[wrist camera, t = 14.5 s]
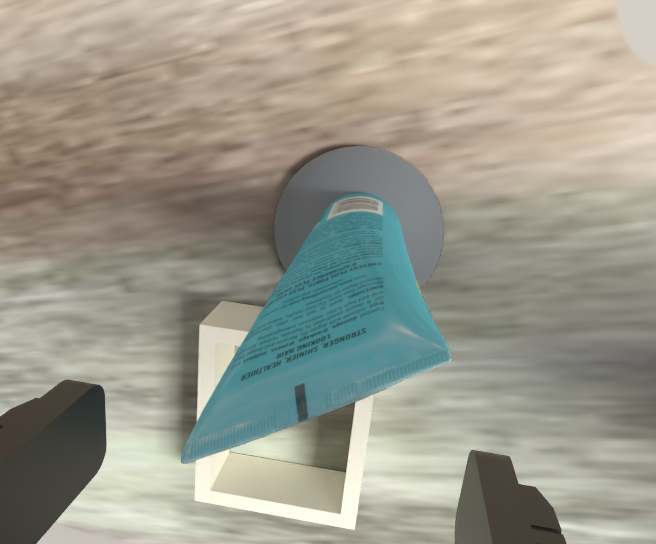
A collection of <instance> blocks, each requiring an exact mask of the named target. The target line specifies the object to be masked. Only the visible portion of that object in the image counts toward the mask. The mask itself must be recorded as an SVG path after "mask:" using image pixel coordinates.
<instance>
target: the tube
mask: <svg viewBox="0 0 656 544" xmlns="http://www.w3.org/2000/svg"><path fill="white" fill-rule="evenodd" d="M451 360H452V357H451V353H450V349H449V346H448V344H447V342H446V340H445V339H444V337H443V336H442V334H441V333H440V331H439V330H438V328H437V326H436V324H435V322H434V320H433V318H432V316H431V313H430V311H429V309H428V307H427V305H426V303H425V301H424V299H423V296H422V293H421V291H420V288H419V286H418V283H417V280H416V277H415V274H414V271H413V268H412V265H411V262H410V258H409V255H408V252H407V248H406V244H405V241H404V237H403V232H402V228H401V224H400V221H399V219H398V216H397V214H396V213H395V211H394V210H393V208H392V207H391V206H390V205H389V204H388V203H387V202H385V201H384V200H383V199H381V198H379V197H377V196H375V195H372V194H368V193H351V194H347V195H344V196H342V197H340V198H338V199H336V200H335V201H334V202H332V203H331V204H330V205H329V206H328V207H327V208H326V210H325V211H324V212H323V214H322V215H321V217H320V218H319V220H318V222H317V223H316V225H315V226H314V228H313V229H312V231H311V233H310V234H309V236H308V237H307V239H306V241H305V242H304V244H303V245H302V247H301V249H300V250H299V252H298V253H297V255H296V256H295V258H294V260H293V261H292V263H291V264H290V266H289V268H288V269H287V271H286V272H285V274H284V276H283V277H282V279H281V280H280V282H279V284H278V285H277V287H276V288H275V290H274V292H273V293H272V295H271V296H270V298H269V300H268V301H267V303H266V304H265V306H264V308H263V309H262V311H261V312H260V314H259V316H258V317H257V319H256V321H255V322H254V324H253V326H252V327H251V329H250V331H249V332H248V334H247V336H246V337H245V339H244V341H243V342H242V344H241V345H240V347H239V349H238V350H237V352H236V354H235V355H234V357H233V359H232V360H231V362H230V364H229V365H228V367H227V369H226V371H225V372H224V374H223V376H222V378H221V379H220V381H219V383H218V385H217V386H216V388H215V390H214V392H213V393H212V395H211V397H210V399H209V400H208V402H207V404H206V406H205V407H204V409H203V411H202V413H201V415H200V417H199V419H198V421H197V423H196V425H195V427H194V429H193V430H192V432H191V434H190V436H189V437H188V439H187V441H186V443H185V445H184V448H183V451H182V457H181V463H182V464H187V463H190V462H194V461H196V460H199V459H202V458H205V457H207V456H210V455H213V454H217V453H220V452H223V451H226V450H228V449H231V448H233V447H236V446H240V445H243V444H245V443H248V442H250V441H253V440H256V439H259V438H262V437H265V436H267V435H270V434H272V433H275V432H277V431H280V430H283V429H285V428H288V427H291V426H294V425H296V424H298V423H301V422H304V421H307V420H310V419H313V418H315V417H318V416H321V415H323V414H326V413H328V412H331V411H333V410H336V409H339V408H342V407H344V406H346V405H349V404H351V403H354V402H357V401H360V400H362V399H365V398H367V397H369V396H371V395H373V394H375V393H378V392H380V391H382V390H385V389H387V388H389V387H391V386H393V385H395V384H397V383H399V382H401V381H403V380H405V379H408V378H411V377H413V376H416V375H419V374H421V373H424V372H427V371H429V370H431V369H434V368H437V367H440V366H443V365H446V364H448V363H450V362H451Z"/></svg>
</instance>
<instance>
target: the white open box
mask: <svg viewBox="0 0 656 544" xmlns="http://www.w3.org/2000/svg"><path fill="white" fill-rule="evenodd" d="M263 308H264V307H262V306H255V305H248V304H241V303H234V302H227V301H221V302H220V303H219V304H218V305H217V307H216V308H215V309H214V310H213V311H212V312H211V313H210V314H209V315H208V316H207V317H206V318H205V319H204V320H203V321H202V322H201V323H200V325H199V362H198V399H197V421H198V419H199V417H200V415H201V413H202V411H203V409H204V407H205V406H206V404H207V402H208V400H209V399H210V397H211V395H212V393H213V392H214V390H215V388H216V386H217V385H218V383H219V381H220V379H221V378H222V376H223V374H224V372H225V371H226V369H227V367H228V365H229V364H230V362H231V360H232V359H233V357H234V350H235V346H240V345H241V344H242V342H243V341H244V339H245V337H246V336H247V334H248V332H249V331H250V329H251V327H252V326H253V324H254V322H255V321H256V319H257V317H258V316H259V314H260V312H261V311H262V309H263ZM373 399H374V394H373V395H371V396H369V397H367V398H365V399H362V400H360V401H357V402H355V410H354V417H353V425H352V432H351V440H350V447H349V455H348V462H347V470H346V472H341V471H335V470H329V469H323V468H318V467H312V466H306V465H300V464H295V463H289V462H283V461H277V460H272V459H266V458H260V457H254V456H249V455H243V454H237V453H231V452H229V449H228V450H226V451H223V452H220V453H217V454H213V455H210V456H207V457H205V458H202V459H199V460H196V472H195V501H201V502H206V503H211V504H217V505H222V506H228V507H233V508H239V509H244V510H249V511H255V512H260V513H266V514H271V515H276V516H282V517H287V518H293V519H298V520H304V521H309V522H314V523H320V524H325V525H331V526H336V527H342V528H347V529H352V530H355V523H356V516H357V510H358V503H359V496H360V489H361V482H362V475H363V468H364V461H365V454H366V447H367V440H368V434H369V427H370V420H371V413H372V406H373Z"/></svg>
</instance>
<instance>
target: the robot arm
mask: <svg viewBox="0 0 656 544" xmlns="http://www.w3.org/2000/svg"><path fill="white" fill-rule="evenodd" d="M105 452H106V418H105V394H104V390H103V388H102V386H100V385H96V384H90V383H85V382H79V381H73V380H64V381H62V382H61V383H59V384H58V385H57V386H55V387H54V388H53V389H51V390H50V391H49V392H48V393H46V394H45V395H44V396H42V397H41V398H35V399H33V400H30V401H28V402H26V403H23V404H21V405H19V406H16V407H14V408H12V409H10V410H9V411H7V412H6V413H5V414H3V415H2V416H1V417H0V544H36V543H37V542H38V541H39V540H40V538H41V537H42V536H43V535H44V534H45V533H46V532H47V530H48V529H49V528H50V527H51V526H52V525H53V524H54V522H55V521H56V520H57V519H58V518H59V517H60V515H61V514H62V513H63V512H64V511H65V510H66V509H67V507H68V506H69V505H70V504H71V503H72V502H73V500H74V499H75V498H76V497H77V496H78V495H79V493H80V492H81V491H82V490H83V489H84V488H85V487H86V485H87V484H88V483H89V482H90V481H91V480H92V478H93V477H94V476H95V475H96V474H97V472H98V470H99V469H100V467H101V465H102V462H103V460H104V456H105ZM455 544H566V541H565V538H564V536H563V535H562V534H561V528H560V525H559V522H558V519H557V517H556V514H555V511H554V509H553V507H552V506H551V505H550V504H549V502H548V501H547V500H546V499H545V498H544V497H543V495H542V494H541V493H540V492H539V491H538V490H537V488H536V487H532V486H526V485H521V484H518V481H517V478H516V474H515V471H514V468H513V464H512V461H511V459H510V457H509V456H505V455H499V454H493V453H487V452H482V451H476V450H471V452H470V454H469V457H468V461H467V466H466V470H465V475H464V480H463V484H462V489H461V494H460V498H459V503H458V508H457V513H456V521H455Z"/></svg>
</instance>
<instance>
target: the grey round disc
mask: <svg viewBox="0 0 656 544" xmlns="http://www.w3.org/2000/svg"><path fill="white" fill-rule="evenodd" d="M351 193H368V194H372V195H375V196H377V197H379V198H381V199H383V200H384V201H385V202H387V203H388V204H389V205H390V206H391V207H392V208H393V210H394V211H395V213H396V214H397V216H398V219H399V221H400V224H401V228H402V232H403V237H404V241H405V244H406V248H407V252H408V255H409V258H410V262H411V265H412V268H413V271H414V274H415V277H416V280H417V283H418V286H419V288H421V287H422V286H423V285H424V284H425V283H426V281H427V280H428V279H429V277H430V276H431V274H432V273H433V271H434V269H435V267H436V265H437V263H438V260H439V258H440V255H441V251H442V246H443V239H444V222H443V217H442V211H441V208H440V205H439V202H438V199H437V197H436V195H435V193H434V191H433V189H432V187H431V186H430V184H429V182H428V181H427V179H426V178H425V177H424V176H423V175H422V174H421V172H420V171H419V170H418V169H416V168H415V167H414V166H413V165H412V164H411V163H409V162H408V161H406V160H405V159H403V158H402V157H400V156H398V155H396V154H394V153H392V152H389V151H386V150H383V149H380V148H375V147H369V146H349V147H343V148H338V149H334V150H332V151H329V152H326V153H324V154H322V155H320V156H318V157H316V158H314V159H313V160H311V161H310V162H308V163H307V164H306V165H304V166H303V167H302V168H301V169H300V170H299V171H298V172H297V173H296V174H295V175H294V176H293V177H292V179H291V180H290V181H289V182H288V184H287V186H286V187H285V189H284V191H283V192H282V195H281V197H280V199H279V202H278V205H277V209H276V212H275V219H274V239H275V246H276V249H277V253H278V256H279V259H280V261H281V264H282V266H283V268H284V269H285V271H287V269H288V268H289V266H290V264H291V263H292V261H293V260H294V258H295V256H296V255H297V253H298V252H299V250H300V249H301V247H302V245H303V244H304V242H305V241H306V239H307V237H308V236H309V234H310V233H311V231H312V229H313V228H314V226H315V225H316V223H317V222H318V220H319V218H320V217H321V215H322V214H323V212H324V211H325V210H326V208H327V207H328V206H329V205H330V204H331V203H332V202H334V201H335V200H336V199H338V198H340V197H342V196H344V195H347V194H351Z"/></svg>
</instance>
